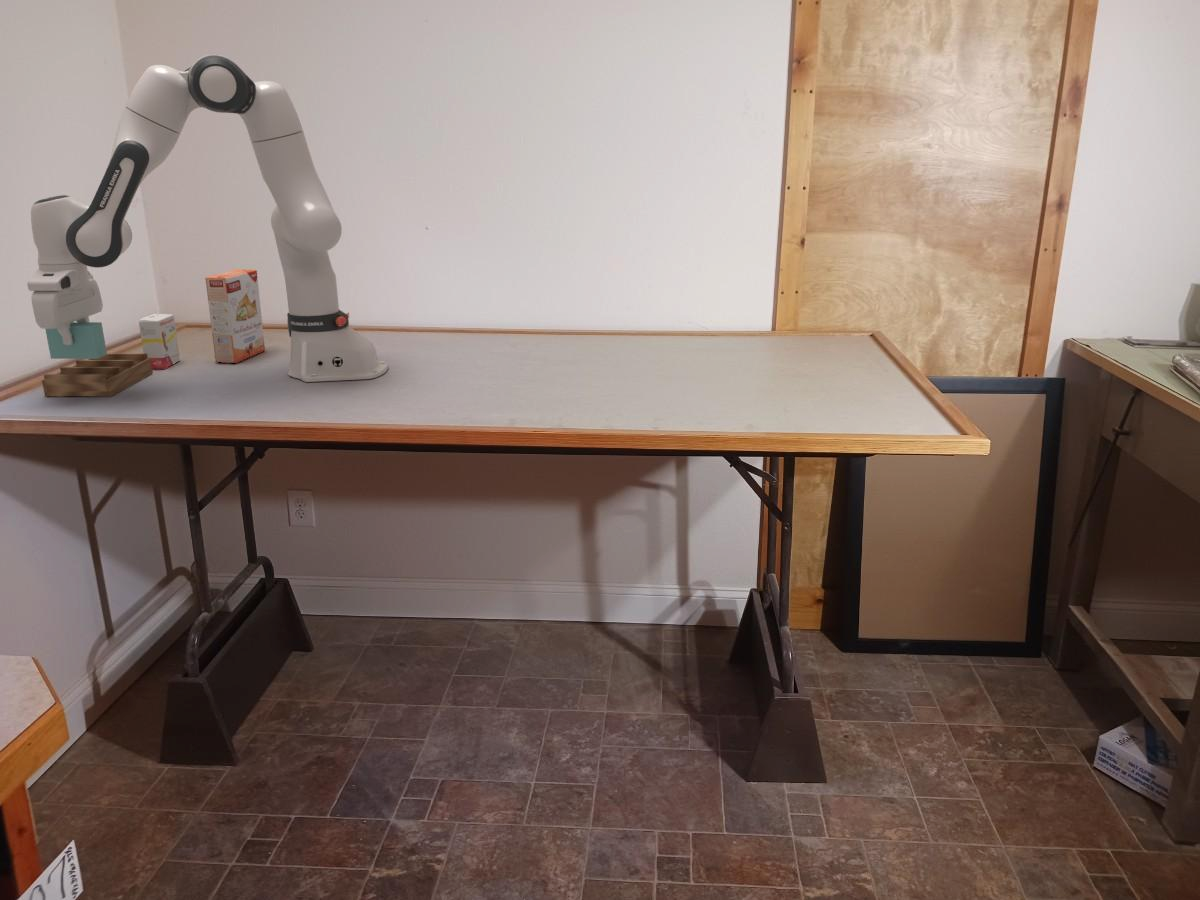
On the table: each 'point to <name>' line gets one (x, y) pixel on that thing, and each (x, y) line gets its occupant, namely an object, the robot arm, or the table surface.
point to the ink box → (160, 340)
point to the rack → (99, 375)
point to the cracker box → (235, 315)
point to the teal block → (78, 342)
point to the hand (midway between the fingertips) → (76, 341)
